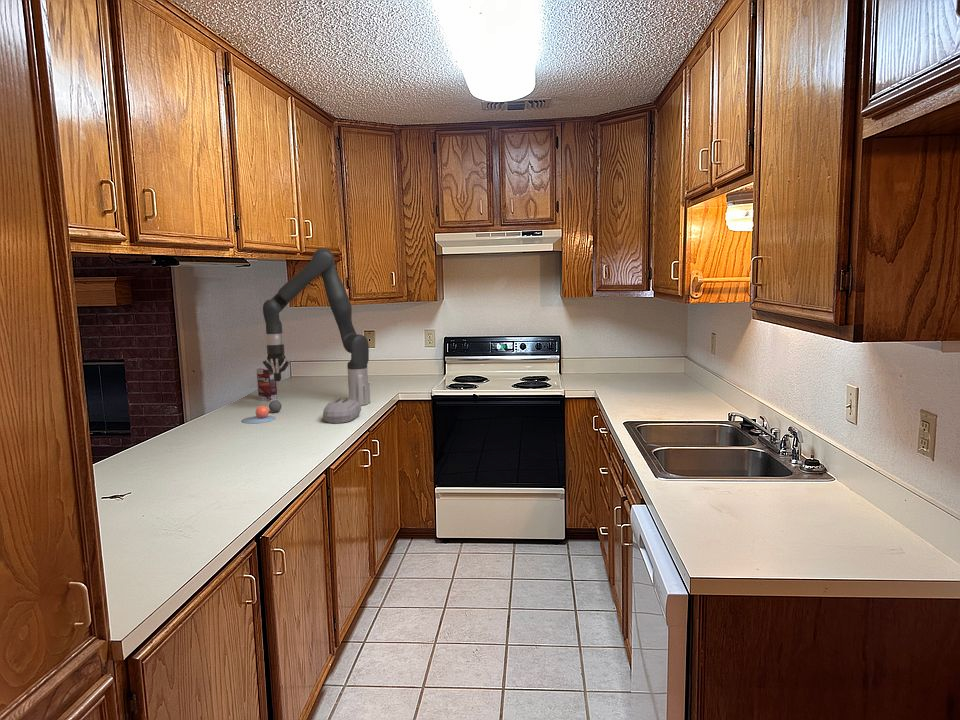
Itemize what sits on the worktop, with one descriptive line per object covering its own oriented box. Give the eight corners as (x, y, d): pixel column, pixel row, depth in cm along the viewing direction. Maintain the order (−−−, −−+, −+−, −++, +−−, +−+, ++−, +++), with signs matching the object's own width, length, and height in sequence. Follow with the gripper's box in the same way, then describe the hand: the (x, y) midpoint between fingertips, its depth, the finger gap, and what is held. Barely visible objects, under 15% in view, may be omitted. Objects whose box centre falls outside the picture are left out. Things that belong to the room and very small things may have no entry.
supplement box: (258, 400, 323) (255, 369, 321) (265, 398, 327) (263, 367, 325) (270, 401, 319) (268, 369, 317) (278, 400, 323) (276, 368, 321)
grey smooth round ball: (279, 399, 291) (276, 410, 289) (284, 403, 296) (281, 414, 294) (268, 397, 292) (265, 409, 290) (274, 402, 297) (270, 413, 295)
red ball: (267, 403, 280) (264, 415, 277) (272, 409, 285) (269, 420, 282) (255, 403, 281) (252, 414, 278) (260, 408, 285) (257, 420, 283)
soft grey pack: (332, 414, 287) (316, 424, 268) (331, 395, 286) (315, 405, 267) (365, 414, 286) (352, 424, 266) (364, 395, 285) (351, 404, 265)
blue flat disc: (281, 416, 284) (281, 416, 284) (265, 423, 271) (265, 423, 270) (251, 415, 287) (251, 415, 287) (234, 423, 273) (234, 422, 273)
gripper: (257, 344, 291) (260, 382, 293) (284, 344, 288) (287, 382, 291) (265, 342, 298) (268, 379, 300) (292, 342, 296) (295, 379, 298)
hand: (277, 381), depth 296 cm, fingers closed
